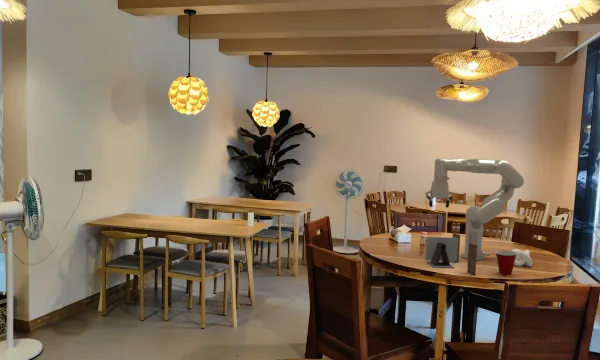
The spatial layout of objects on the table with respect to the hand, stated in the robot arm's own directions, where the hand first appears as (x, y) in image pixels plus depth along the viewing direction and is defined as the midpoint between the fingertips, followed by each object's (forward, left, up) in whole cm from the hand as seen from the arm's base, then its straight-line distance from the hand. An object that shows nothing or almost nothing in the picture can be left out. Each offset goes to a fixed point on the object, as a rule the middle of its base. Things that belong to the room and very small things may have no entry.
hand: (438, 207), depth 267 cm
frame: (-8, +23, -30) cm, 39 cm away
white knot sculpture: (-45, +14, -31) cm, 56 cm away
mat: (+4, +23, -30) cm, 38 cm away
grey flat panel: (+1, +14, -29) cm, 33 cm away
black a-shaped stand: (+4, +22, -30) cm, 37 cm away
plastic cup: (-26, +36, -31) cm, 54 cm away
